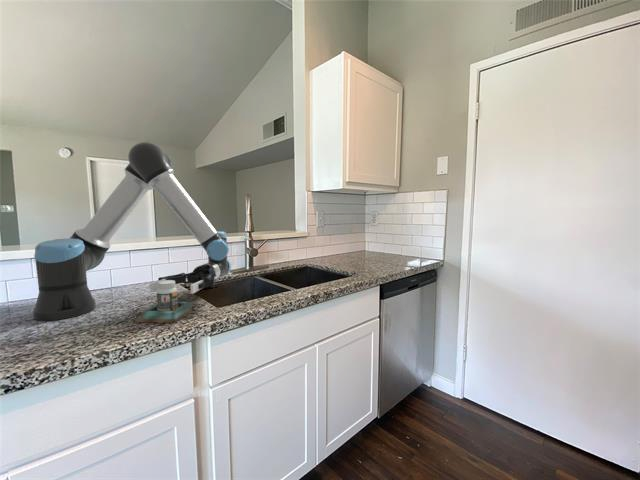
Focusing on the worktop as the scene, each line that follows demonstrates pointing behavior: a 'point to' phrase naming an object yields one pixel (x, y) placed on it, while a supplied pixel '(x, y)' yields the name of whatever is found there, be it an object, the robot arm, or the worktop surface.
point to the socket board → (165, 314)
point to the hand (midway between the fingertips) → (171, 288)
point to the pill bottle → (167, 296)
